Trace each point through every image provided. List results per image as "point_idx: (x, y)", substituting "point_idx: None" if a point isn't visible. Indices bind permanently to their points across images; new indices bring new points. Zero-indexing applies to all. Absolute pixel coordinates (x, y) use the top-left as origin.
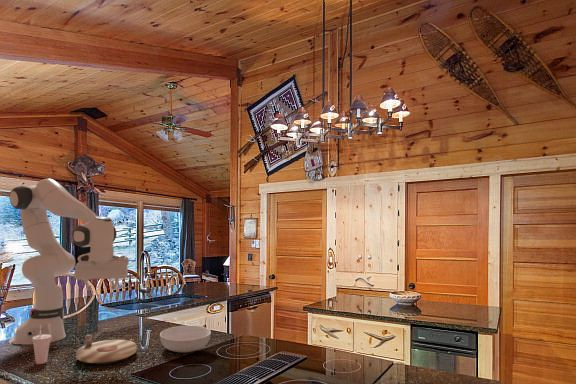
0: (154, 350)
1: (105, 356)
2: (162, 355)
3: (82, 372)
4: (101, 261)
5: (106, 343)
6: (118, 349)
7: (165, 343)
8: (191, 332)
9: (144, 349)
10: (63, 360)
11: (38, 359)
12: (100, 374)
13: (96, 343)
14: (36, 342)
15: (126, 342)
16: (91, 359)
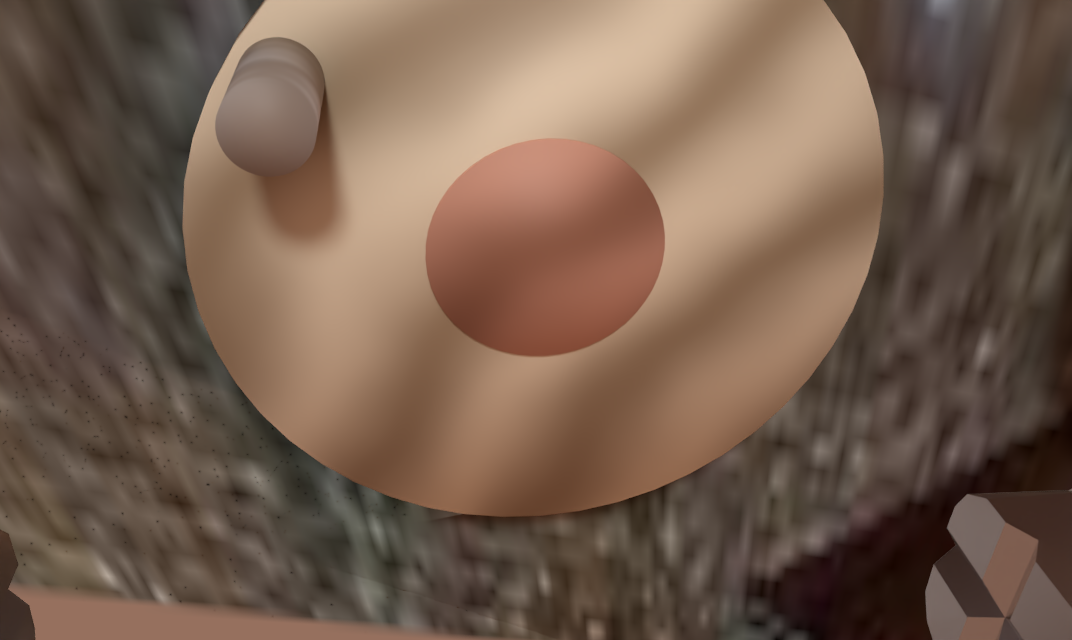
0: (1040, 105)
1: (549, 473)
2: (1066, 273)
3: (362, 518)
4: None
5: (518, 47)
6: (673, 308)
7: None
8: None
9: (948, 40)
10: (50, 197)
11: None
12: (517, 571)
13: (375, 9)
14: None
15: (777, 68)
16: (421, 500)
